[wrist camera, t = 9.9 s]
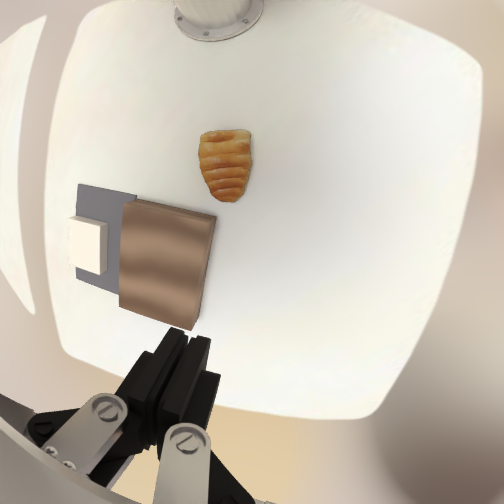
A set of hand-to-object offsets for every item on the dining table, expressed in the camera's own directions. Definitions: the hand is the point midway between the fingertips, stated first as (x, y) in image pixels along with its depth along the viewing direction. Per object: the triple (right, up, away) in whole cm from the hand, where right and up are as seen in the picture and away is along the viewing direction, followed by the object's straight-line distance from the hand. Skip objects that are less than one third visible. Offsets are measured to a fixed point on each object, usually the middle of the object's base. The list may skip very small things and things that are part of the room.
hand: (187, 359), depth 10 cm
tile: (-24, +5, +27) cm, 36 cm away
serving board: (-10, +3, +29) cm, 30 cm away
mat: (-22, +6, +29) cm, 37 cm away
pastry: (0, +16, +24) cm, 29 cm away
